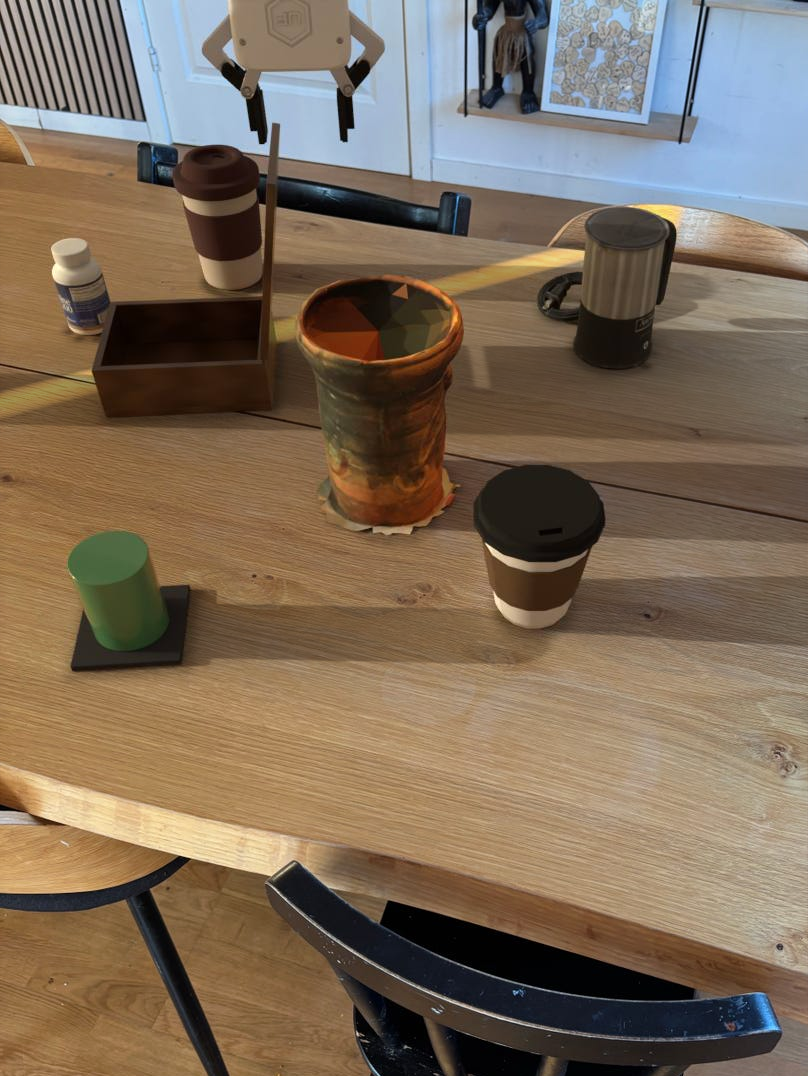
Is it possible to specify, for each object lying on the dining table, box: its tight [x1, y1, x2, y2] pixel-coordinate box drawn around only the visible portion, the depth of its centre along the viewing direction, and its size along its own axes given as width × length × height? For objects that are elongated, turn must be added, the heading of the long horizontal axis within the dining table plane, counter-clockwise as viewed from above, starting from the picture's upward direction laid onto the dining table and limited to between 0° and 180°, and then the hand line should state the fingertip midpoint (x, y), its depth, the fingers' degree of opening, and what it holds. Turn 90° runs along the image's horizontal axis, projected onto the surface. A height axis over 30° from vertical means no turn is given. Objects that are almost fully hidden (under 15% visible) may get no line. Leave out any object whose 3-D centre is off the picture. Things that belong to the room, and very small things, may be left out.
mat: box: [70, 584, 191, 672], centre depth 88 cm, size 9×9×1 cm
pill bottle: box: [50, 237, 112, 336], centre depth 117 cm, size 5×5×10 cm
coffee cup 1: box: [171, 144, 264, 291], centre depth 123 cm, size 10×10×15 cm
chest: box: [91, 295, 278, 418], centre depth 111 cm, size 18×14×6 cm
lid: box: [260, 122, 281, 360], centre depth 103 cm, size 18×14×1 cm
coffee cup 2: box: [472, 464, 607, 630], centre depth 86 cm, size 11×11×12 cm
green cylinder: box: [66, 530, 169, 651], centre depth 85 cm, size 6×6×8 cm
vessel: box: [294, 274, 465, 536], centre depth 93 cm, size 14×14×20 cm
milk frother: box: [536, 206, 678, 370], centre depth 116 cm, size 14×16×15 cm
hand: (303, 136), depth 95 cm, fingers open, 7 cm apart
